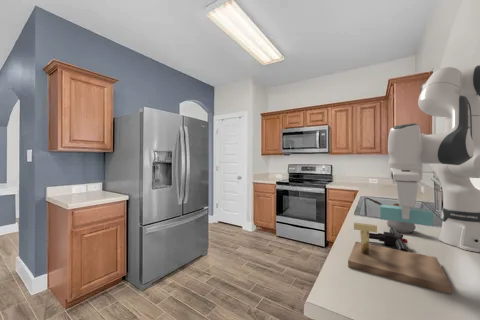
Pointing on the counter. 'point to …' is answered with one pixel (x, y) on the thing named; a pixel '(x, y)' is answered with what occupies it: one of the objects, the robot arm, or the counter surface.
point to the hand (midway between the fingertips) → (404, 216)
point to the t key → (365, 235)
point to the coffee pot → (398, 226)
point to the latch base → (400, 266)
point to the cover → (414, 216)
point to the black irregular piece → (391, 239)
